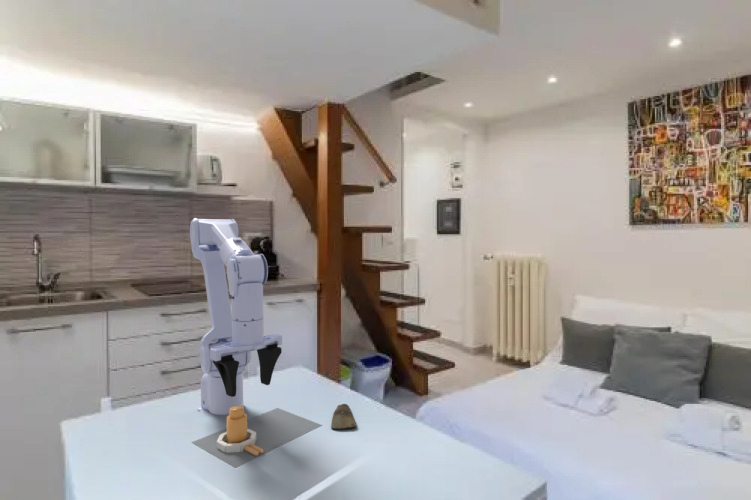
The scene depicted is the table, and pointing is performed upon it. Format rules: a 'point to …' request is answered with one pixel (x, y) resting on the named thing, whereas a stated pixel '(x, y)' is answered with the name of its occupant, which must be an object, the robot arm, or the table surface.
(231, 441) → the stepped orange capsule
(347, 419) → the stone
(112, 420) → the table surface
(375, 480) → the table surface
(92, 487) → the table surface
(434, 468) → the table surface
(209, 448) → the mat
